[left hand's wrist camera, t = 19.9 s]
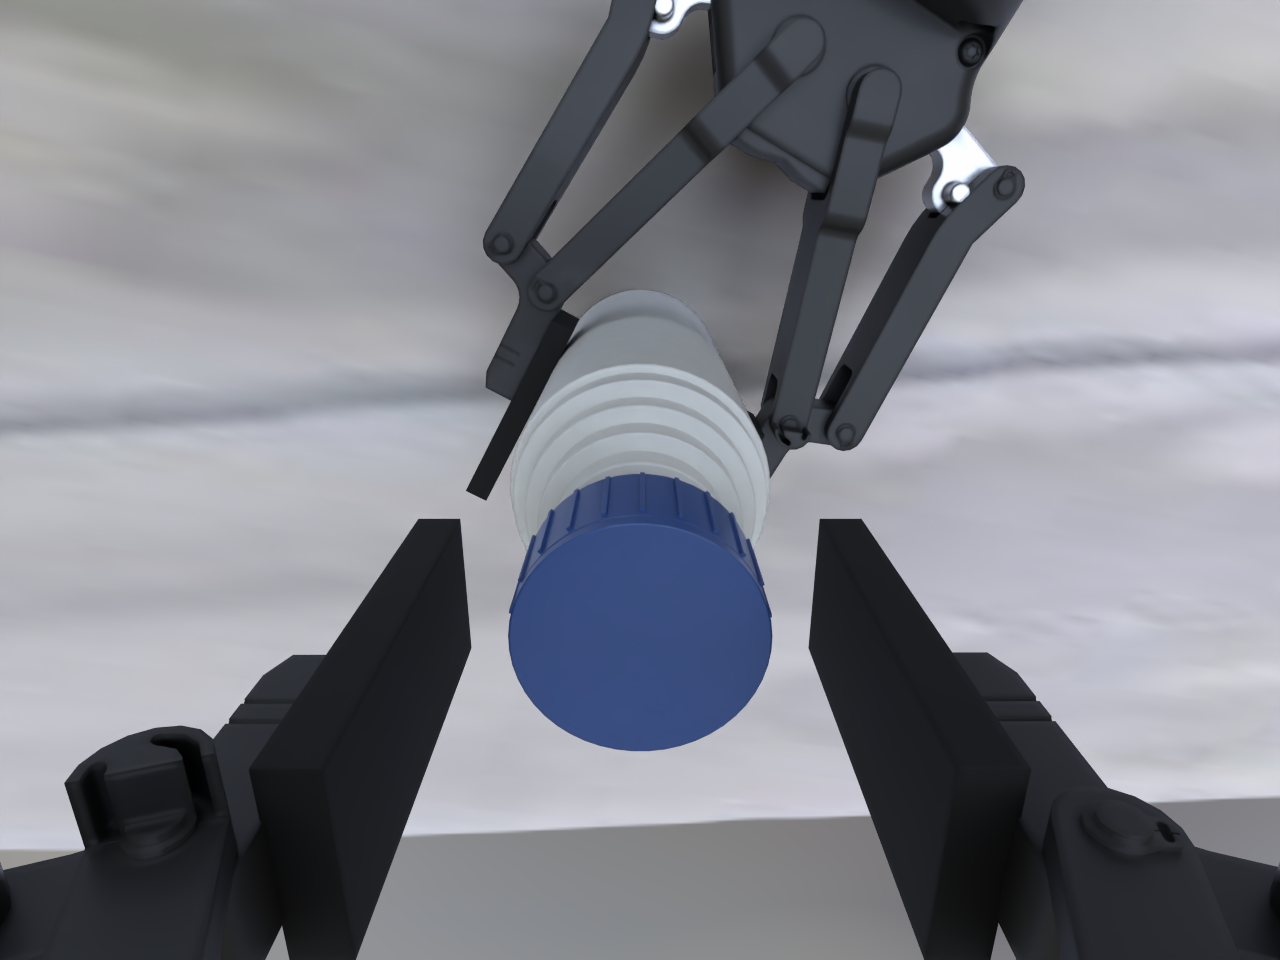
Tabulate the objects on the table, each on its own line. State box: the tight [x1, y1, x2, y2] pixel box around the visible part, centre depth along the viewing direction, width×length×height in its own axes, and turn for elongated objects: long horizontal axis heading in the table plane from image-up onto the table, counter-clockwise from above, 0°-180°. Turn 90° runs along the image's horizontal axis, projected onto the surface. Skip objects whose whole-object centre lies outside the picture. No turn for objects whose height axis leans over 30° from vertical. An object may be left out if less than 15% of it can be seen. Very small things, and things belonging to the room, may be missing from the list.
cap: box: [508, 472, 772, 751], centre depth 14 cm, size 4×4×2 cm
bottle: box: [510, 290, 770, 550], centre depth 23 cm, size 6×6×21 cm
